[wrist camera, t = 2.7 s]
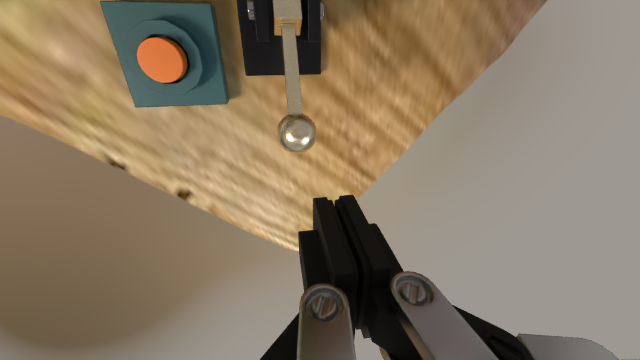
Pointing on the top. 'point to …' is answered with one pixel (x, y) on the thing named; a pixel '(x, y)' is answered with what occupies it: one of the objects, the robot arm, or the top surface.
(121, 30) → the control block
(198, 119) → the top surface
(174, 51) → the button
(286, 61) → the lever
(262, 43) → the bracket
